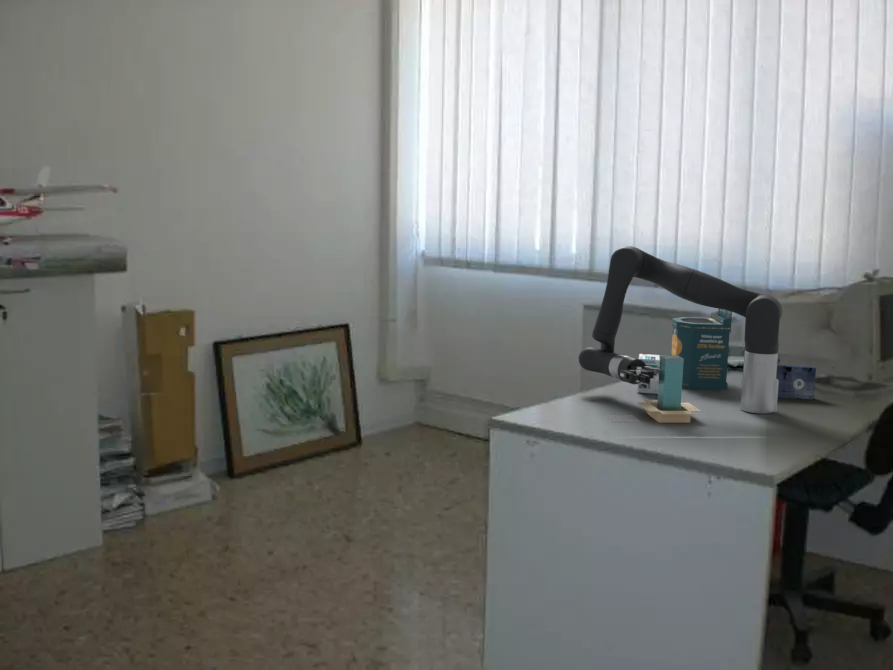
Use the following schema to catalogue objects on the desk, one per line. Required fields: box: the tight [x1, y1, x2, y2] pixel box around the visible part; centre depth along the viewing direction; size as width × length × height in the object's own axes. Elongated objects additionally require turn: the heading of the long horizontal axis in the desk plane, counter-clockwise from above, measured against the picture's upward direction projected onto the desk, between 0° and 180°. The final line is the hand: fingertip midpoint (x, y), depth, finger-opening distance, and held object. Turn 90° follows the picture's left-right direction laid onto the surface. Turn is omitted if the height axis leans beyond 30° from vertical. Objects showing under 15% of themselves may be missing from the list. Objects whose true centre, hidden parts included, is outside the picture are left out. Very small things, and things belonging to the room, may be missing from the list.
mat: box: [604, 414, 642, 423], centre depth 281 cm, size 8×8×1 cm
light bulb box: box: [636, 353, 660, 395], centre depth 321 cm, size 11×7×11 cm, turn 168°
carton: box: [636, 399, 702, 424], centre depth 283 cm, size 15×17×4 cm
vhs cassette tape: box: [776, 364, 817, 400], centre depth 317 cm, size 18×3×10 cm, turn 80°
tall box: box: [656, 354, 684, 411], centre depth 282 cm, size 5×5×17 cm
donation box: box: [670, 308, 733, 391], centre depth 332 cm, size 16×16×28 cm
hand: (661, 379), depth 285 cm, fingers open, 8 cm apart
